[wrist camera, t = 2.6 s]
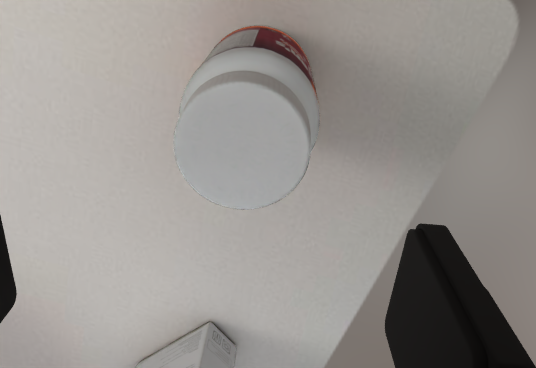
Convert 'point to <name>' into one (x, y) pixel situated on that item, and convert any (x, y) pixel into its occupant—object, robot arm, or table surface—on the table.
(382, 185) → the table surface
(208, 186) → the pill bottle
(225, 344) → the ink box
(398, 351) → the robot arm
